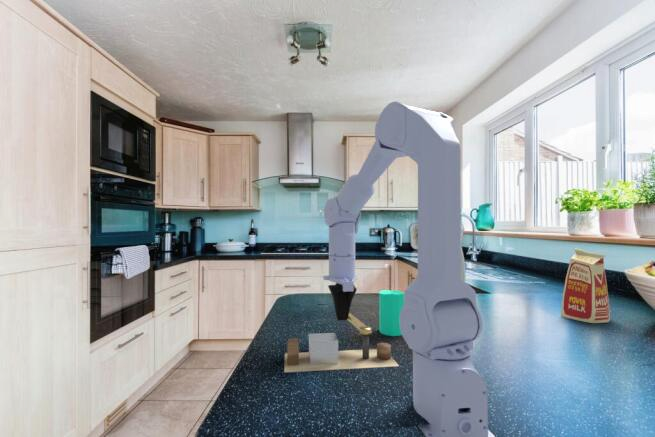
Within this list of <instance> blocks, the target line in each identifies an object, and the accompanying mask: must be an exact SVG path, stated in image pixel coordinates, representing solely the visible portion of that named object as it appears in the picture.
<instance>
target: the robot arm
mask: <svg viewBox="0 0 655 437" xmlns="http://www.w3.org/2000/svg"><path fill="white" fill-rule="evenodd" d="M454 130H455V129H454V118H453V117H451V116H449V115H448V114H445V113H443V112H441V111H433V110H428V109H423V108H420V107H417V106H416V107H415V106H412V105H407V104H404V103H402V102H400V101H392V102H390V103H387V105H386V106H385V107H384V108H383V110H382V111H381V112H380V114H379V117H378V120H377V121H376V123H375V126H374V137H375V141H374V143H373V145H372V146H371V149H370V150H369V152H368V154H367V156H366V158H365V160H364V162H363V163H362V166H361V168H360V169H359V171H358V173H357V174H351V175H350V176H349V177H348V179H347V180H346V182H345V183H344V185H343V186H342V188H341V190H340V191H339V193H338V195H337V196H333V197H332V198H329V199H327V200H326V203H325V206H324V208H323V218H324V222H325V224H326V225H327V226H328V275H323V278H322V279H323V280H324V281H330V282H334V283H335V284H329V285H328V286H327V287H328V289H329V291H330V294H331V297H332V301H333V306H334V312H335V317H336V319H337V321H348V320H347V319H348V315H349V313H350V311H351V305H352V302H353V298H354V296H355V294H356V292H357V290H358V288H357V287H355V285H354V284H355V282H356V280H357V275H356V234H358V232H359V224H360V221H361V216H362V212H361V210H363V209H364V207H365V205H366V204H367V203H368V201H369V200H370V199H371V198H372V196H373V195H374V193H375V187H374V186H375V183H376V182H377V181H378V179H379V178H380V177H381V176H383V174H384V173H385V172H386V171H387V170H388V168H389V167H390V166H391V165H392V164H393V162H394V161H395V160H396V159H398V158H403V157H404V158H405V157H409V158H410V159H411V160H413V161H414V162H415V164H417V274H416V276H415V278H414V279H413V280H412V282H410V283H409V285H407V287H406V289H405V290H404V291H403V293H404V304H403V307H402V310H401V312H400V318H399V324H400V330H401V333H402V335H401V336H402V338H403V340H404V341H405V343H406V344H407V345H408V348H409V349H410V350H411V351H412V384H413V385H412V388H413V389H412V391H413V392H412V394H413V396H412V398H413V399H412V400H413V401H412V402H413V403H412V404H413V408H414V410H415V411H416V413H417V414H418V415H420V417H422V418H423V419H425V420H426V421H427V422H428V423H427V424H420V425H418V428H419V429H420V431H421V433H422V434H423V435H424V437H496V436H495V435H494V434H493V433H492V432H491V431H490V429H489V417H488V416H489V415H488V414H489V413H488V412H489V411H488V409H489V408H488V404H489V403H488V387H487V383H486V382H485V380H484V378H483V377H482V375H481V374H480V373H479V372H478V370H477V369H476V368H475V366H474V363H473V362H472V358H471V351H473V350H474V341H476V340H477V339H478V338H479V337H480V335H481V334H482V330H483V319H482V314H481V312H480V311H479V308H478V304H477V300H476V299H477V297H476V296H477V294H476V290H475V289H474V288H472V286H470V285H469V284H468V283H466V281H465V282H464V281H463V280H462V279H461V246H462V241H461V229H462V226H461V222H462V221H461V219H462V218H461V217H462V215H461V206H462V205H461V200H462V199H461V196H462V195H461V190H462V189H461V187H462V186H461V181H462V180H461V144H460V141H459V140H458V137H457V136H456V133H455V131H454Z"/></svg>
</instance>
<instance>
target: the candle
mask: <svg viewBox="0 0 655 437" xmlns="http://www.w3.org/2000/svg"><path fill="white" fill-rule="evenodd" d="M378 302H379V303H378V311H379V313H378V316H379V319H378V320H379V321H378V322H379V325H378V326H379V329H378V332H380V334H382V335H385V336H391V337H400V336H402V333H401V330H400V324H399V318H400V312H401V310H402V307H403V304H404V292H402V291H400V290H389V289H382V290H380V291H379V292H378Z"/></svg>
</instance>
